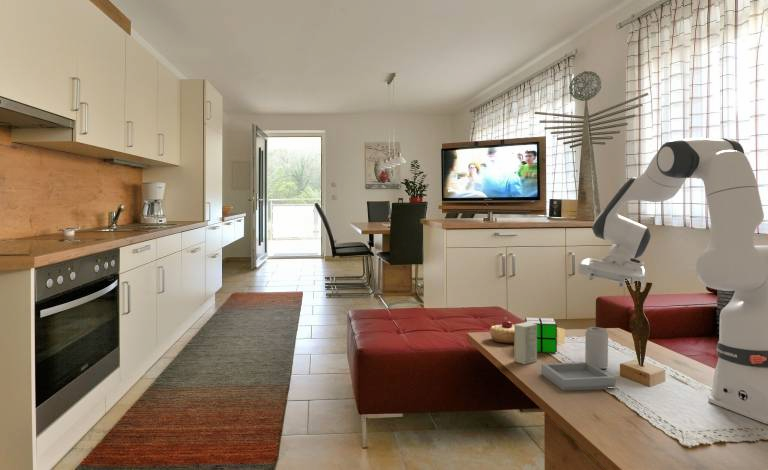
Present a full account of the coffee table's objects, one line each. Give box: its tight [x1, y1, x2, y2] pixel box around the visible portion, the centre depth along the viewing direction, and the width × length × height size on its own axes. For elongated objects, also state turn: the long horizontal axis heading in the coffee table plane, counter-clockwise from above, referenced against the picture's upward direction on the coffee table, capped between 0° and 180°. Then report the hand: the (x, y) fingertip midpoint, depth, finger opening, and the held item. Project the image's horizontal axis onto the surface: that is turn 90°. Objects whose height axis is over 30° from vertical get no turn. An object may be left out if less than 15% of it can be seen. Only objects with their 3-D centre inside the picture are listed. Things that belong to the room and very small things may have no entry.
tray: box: [541, 361, 616, 392], centre depth 143 cm, size 14×14×3 cm
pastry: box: [489, 316, 515, 344], centre depth 188 cm, size 12×12×9 cm
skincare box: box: [513, 321, 538, 365], centre depth 162 cm, size 6×4×12 cm
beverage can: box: [584, 326, 609, 370], centre depth 155 cm, size 6×6×12 cm
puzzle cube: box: [524, 317, 558, 354], centre depth 177 cm, size 10×10×10 cm
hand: (605, 281), depth 160 cm, fingers open, 8 cm apart
